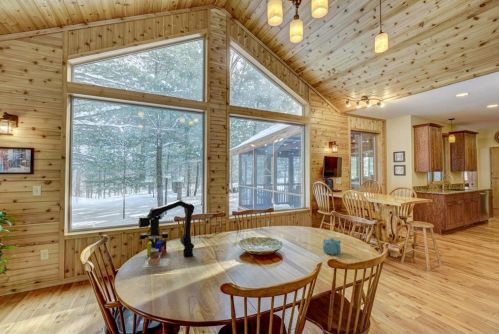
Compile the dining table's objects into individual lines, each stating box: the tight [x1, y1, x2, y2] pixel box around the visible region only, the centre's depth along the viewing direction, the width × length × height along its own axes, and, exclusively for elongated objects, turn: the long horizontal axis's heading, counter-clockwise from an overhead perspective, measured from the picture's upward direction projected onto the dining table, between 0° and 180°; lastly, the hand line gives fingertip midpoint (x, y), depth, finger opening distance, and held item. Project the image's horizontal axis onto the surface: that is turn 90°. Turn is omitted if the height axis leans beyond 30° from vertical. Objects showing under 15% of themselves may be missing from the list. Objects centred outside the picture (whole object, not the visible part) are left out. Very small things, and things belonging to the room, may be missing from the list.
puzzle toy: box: [146, 239, 167, 256], centre depth 185 cm, size 10×10×10 cm
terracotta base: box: [147, 255, 161, 264], centre depth 169 cm, size 7×7×3 cm
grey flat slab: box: [142, 257, 171, 268], centre depth 167 cm, size 16×14×1 cm
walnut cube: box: [149, 249, 159, 259], centre depth 169 cm, size 5×5×5 cm
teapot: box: [322, 237, 342, 256], centre depth 191 cm, size 20×17×12 cm
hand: (154, 247), depth 169 cm, fingers closed
